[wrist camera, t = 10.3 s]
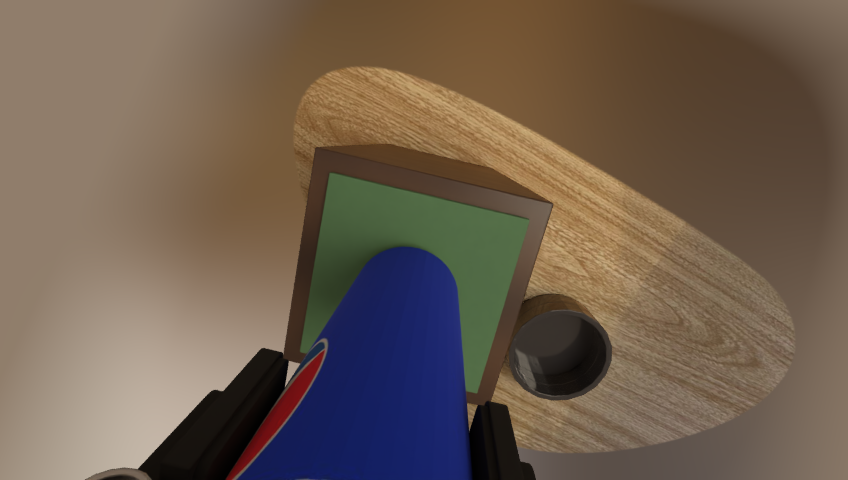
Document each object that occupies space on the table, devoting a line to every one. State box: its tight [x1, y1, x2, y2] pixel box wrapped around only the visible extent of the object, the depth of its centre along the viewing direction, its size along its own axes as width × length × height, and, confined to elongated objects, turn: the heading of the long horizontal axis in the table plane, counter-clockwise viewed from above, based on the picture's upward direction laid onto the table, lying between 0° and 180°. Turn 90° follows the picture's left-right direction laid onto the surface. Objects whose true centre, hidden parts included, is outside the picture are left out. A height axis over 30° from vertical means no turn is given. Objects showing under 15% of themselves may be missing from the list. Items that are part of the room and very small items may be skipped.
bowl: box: [506, 294, 612, 400], centre depth 46 cm, size 11×11×4 cm
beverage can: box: [225, 247, 473, 480], centre depth 13 cm, size 5×5×15 cm
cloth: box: [300, 172, 530, 393], centre depth 20 cm, size 10×10×1 cm
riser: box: [283, 144, 553, 405], centre depth 33 cm, size 12×12×25 cm
